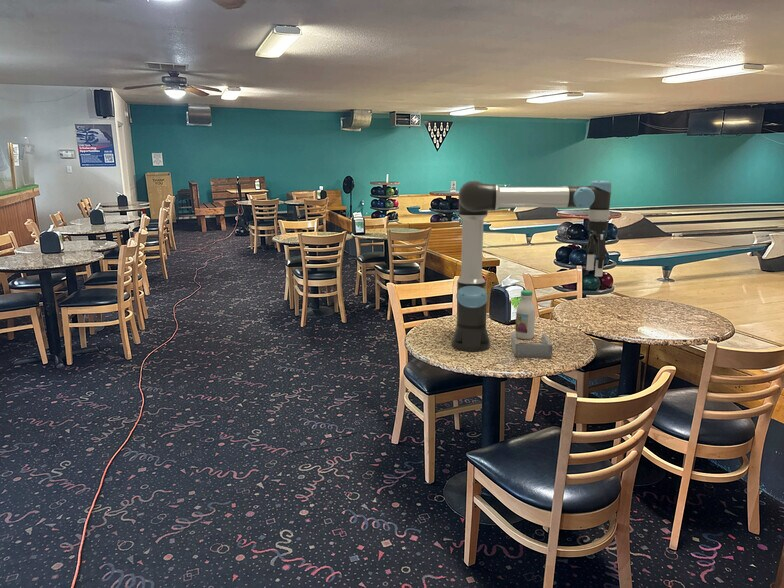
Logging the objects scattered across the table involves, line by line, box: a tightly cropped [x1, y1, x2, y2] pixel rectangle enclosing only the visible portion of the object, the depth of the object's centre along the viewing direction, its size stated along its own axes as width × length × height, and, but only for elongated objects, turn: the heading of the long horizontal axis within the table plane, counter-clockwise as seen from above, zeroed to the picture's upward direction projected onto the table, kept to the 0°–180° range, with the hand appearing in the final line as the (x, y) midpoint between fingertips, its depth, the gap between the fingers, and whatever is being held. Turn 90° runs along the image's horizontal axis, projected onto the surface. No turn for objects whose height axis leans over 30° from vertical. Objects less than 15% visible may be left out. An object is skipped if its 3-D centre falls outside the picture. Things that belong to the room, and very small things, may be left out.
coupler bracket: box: [510, 331, 554, 359], centre depth 204 cm, size 13×16×5 cm
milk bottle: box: [515, 289, 536, 340], centre depth 220 cm, size 8×8×20 cm
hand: (594, 273), depth 212 cm, fingers open, 13 cm apart
